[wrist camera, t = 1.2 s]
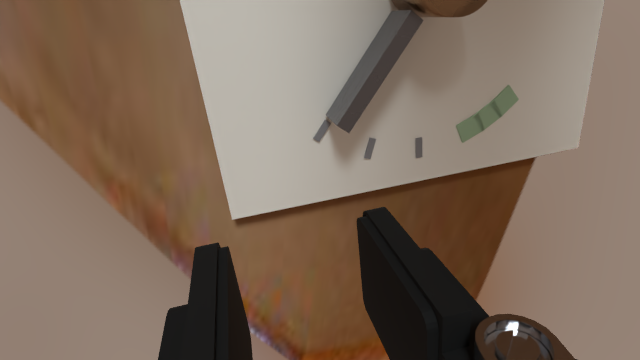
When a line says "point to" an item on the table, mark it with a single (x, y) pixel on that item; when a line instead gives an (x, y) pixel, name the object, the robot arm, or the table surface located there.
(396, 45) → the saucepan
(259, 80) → the dial board
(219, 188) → the table surface
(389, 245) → the robot arm
